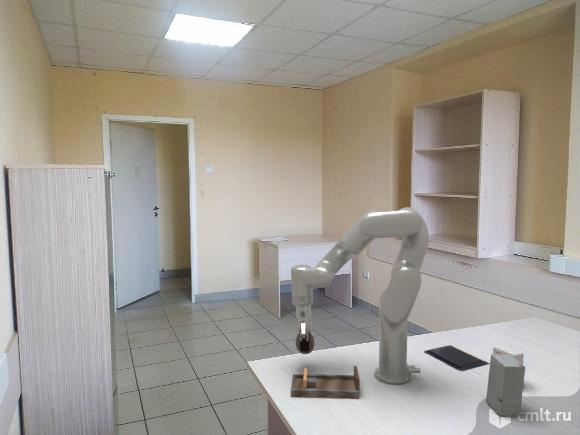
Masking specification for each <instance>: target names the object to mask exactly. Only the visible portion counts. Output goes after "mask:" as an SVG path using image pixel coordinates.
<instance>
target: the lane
mask: <svg viewBox="0 0 580 435" xmlns="http://www.w3.org/2000/svg"><path fill="white" fill-rule="evenodd" d="M303 377H304V373H292V378H291V379H292V380H291V386H290V398H315V399H317V398H318V399H320V398H321V399H348V400H349V399H355V400H356V399H359V400H360V399H361V397H360V396H361V395H360V393H361V392H360V374H359V369H358V365H353V374H328V373H327V374H326V373H325V374H323V373H321V374H320V373H316V374H315V373H313V374H311V373H307V378H316V387H309V386H307V389H303Z"/></svg>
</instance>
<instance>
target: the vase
mask: <svg viewBox="0 0 580 435" xmlns="http://www.w3.org/2000/svg"><path fill="white" fill-rule="evenodd" d="M301 332H302V330H301ZM305 332H307V330H305ZM305 335H306V334H305ZM308 340H309V351H306V352H301V351H300V333H299V332H298V333H297V335H296V338H295V347H296V350H297V351H298V353H300V354H301V355H309V354H311V353H312V352H313V350H314V349H315V337H314V336H313V334H312V332H311V333H310V332H308Z"/></svg>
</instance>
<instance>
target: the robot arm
mask: <svg viewBox="0 0 580 435" xmlns="http://www.w3.org/2000/svg"><path fill="white" fill-rule="evenodd" d="M401 237H402V241H401V245H400V247H399V250H398V254H397V256H396V258H395V261H394V263H393V265H392V268H391V270H390V280H389V283H388V286H387V288H386V289H384V290H383V291H382V293H381V294H380V296H379V299H378V300H379V302H378V305H379V306H378V308H379V323H378V324H379V327H378V328H379V329H378V330H379V332H378V333H379V334H378V345H379V346H378V367H376V368H375V369H374V372H373V374H374V377H375V378H376V379H377V380H378V381H380V382H382V383H386V384H391V385H403V384H407V383H408V382H410V380H411V379H412V374H421V372H422V371H421V370H422V369H421V367H416V365H415V364H414V365H413V364H411V365H409V364H408V362H407V361H408V318H409V317H410V315H411V312H412V309H413V308H414V305H415V302H416V300H417V297H418V295H419V292H420V290H421V286H422V276H421V275H422V274H421V269H422V265H423V263H424V259H425V257H426V254H427V251H428V247H429V240H430V236H429V229H428V226H427V223H426V221H425V220H424V218H423V217H422V215H421V214H420V213H419V212H418V211H417V210H416V208H413V207H409V206H407V207H402V208H400V209H399V210H393V211H392V210H391V211H378V210H374V209H373V210H372V209H370V210H367V211H366V212H365V213H363V215H361V216H360V217H359V219H358V220H357V221H356V222H355V223H354V224H353V225H351V227H350V228H349V229H348V230H347V231H346V232H345V233H344V234H343V236H342V237H340V239H339V240H338V241H337V242H336V244H335V245H334V246H333V247H332V248H331V249H330V250H329V251H328V252H327V253H326V254H325V255H324V256H323V258H322V259H320V261H318V262H317V264H316V265H315V266H314V267H311V265H308V264H295V265H293V266H292V267H291V269H290V280H291V297H292V298H291V299H292V302H291V303H292V305H293V306H295V312H296V314H295V315H296V323H297V332H298V334H299V333H300V351H301V352H306V351H309V340H308V332H310V333H311V334H312V332H313V331H312V330H313V322H312V307H311V306H312V305H313V304H314V293H313V291H314V289H313V288H319V289H320V288H322V289H323V288H327V287H329V285H331V283H332V282H333V278H334V277H335V275H336V274H337V273H338V272H339V271H341V269H342V268H343V267H344V266H345V265H346V264H348V263H349V261H351V260H352V259H353V260H354V259H356V258H357V257H358V256H359V255H361V254H362V252H363V251H364V250H366V248H367V247H368V246H369V245H370V244H371V243H372V242H373V241H374V240H375V239H386V238H401ZM301 330H302V332H301ZM305 330H307V332H305ZM305 334H306V335H305Z"/></svg>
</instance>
